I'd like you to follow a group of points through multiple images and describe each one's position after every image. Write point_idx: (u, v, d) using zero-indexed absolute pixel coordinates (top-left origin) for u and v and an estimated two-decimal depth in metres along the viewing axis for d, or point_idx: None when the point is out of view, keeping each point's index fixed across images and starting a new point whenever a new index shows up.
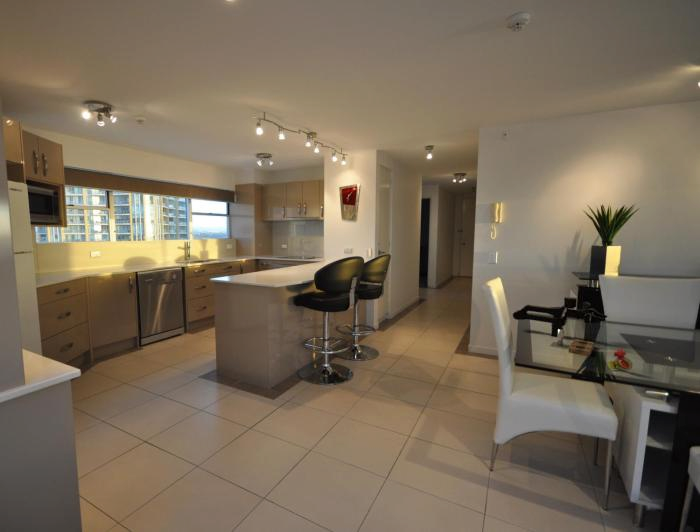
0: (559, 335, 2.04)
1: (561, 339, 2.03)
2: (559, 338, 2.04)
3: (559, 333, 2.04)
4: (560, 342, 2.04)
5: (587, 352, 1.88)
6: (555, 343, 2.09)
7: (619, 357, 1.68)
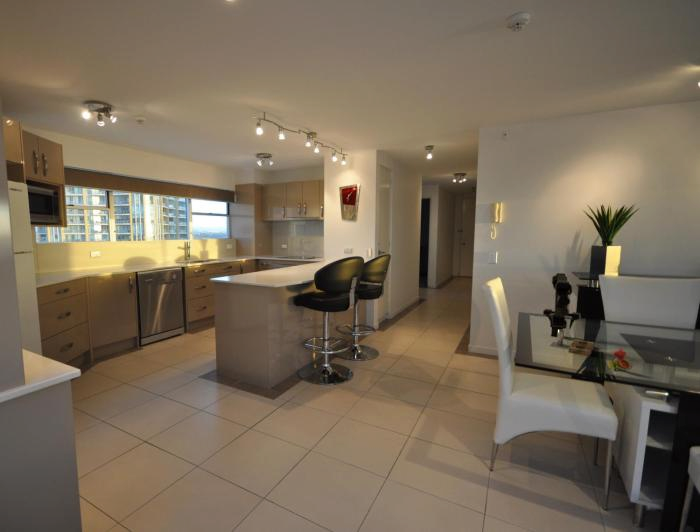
0: (559, 335, 2.04)
1: (561, 339, 2.03)
2: (559, 338, 2.04)
3: (559, 333, 2.04)
4: (560, 342, 2.04)
5: (587, 352, 1.88)
6: (555, 343, 2.09)
7: (619, 357, 1.68)
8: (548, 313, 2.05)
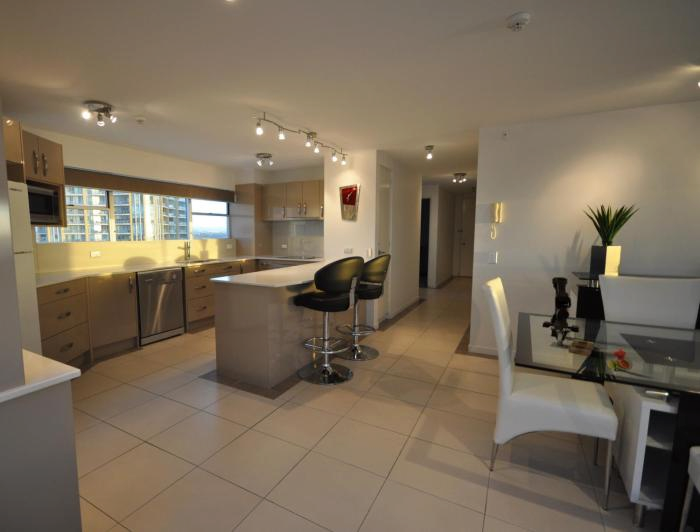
0: (559, 335, 2.04)
1: (561, 339, 2.03)
2: (559, 338, 2.04)
3: (559, 333, 2.04)
4: (560, 342, 2.04)
5: (587, 352, 1.88)
6: (555, 343, 2.09)
7: (619, 357, 1.68)
8: (547, 326, 2.06)
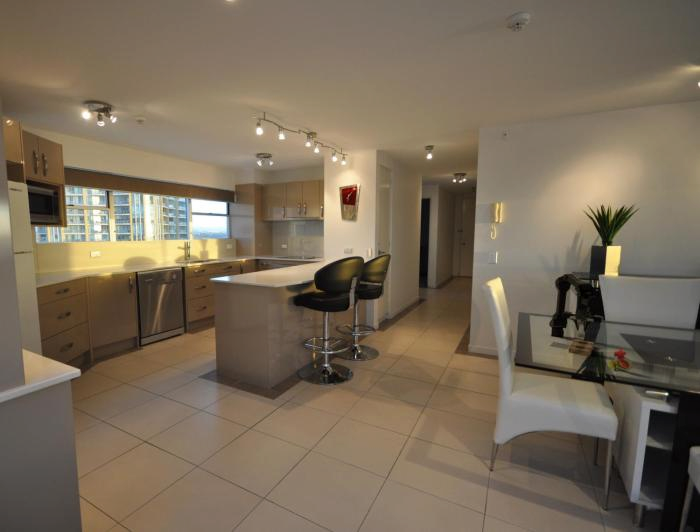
0: (580, 326, 1.92)
1: (583, 330, 1.91)
2: (580, 329, 1.92)
3: (580, 323, 1.92)
4: (581, 333, 1.92)
5: (587, 352, 1.88)
6: (555, 343, 2.09)
7: (619, 357, 1.68)
8: (568, 316, 1.94)
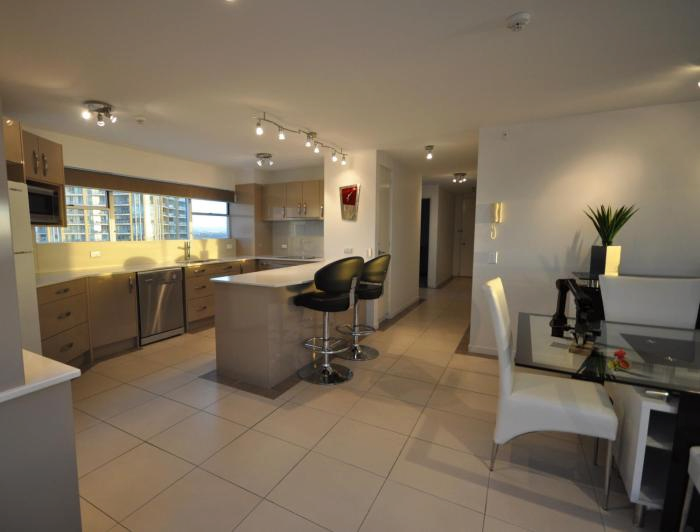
0: (579, 339, 1.93)
1: (582, 344, 1.92)
2: (579, 342, 1.93)
3: (579, 337, 1.93)
4: (581, 346, 1.93)
5: (587, 352, 1.88)
6: (555, 343, 2.09)
7: (619, 357, 1.68)
8: (567, 329, 1.95)
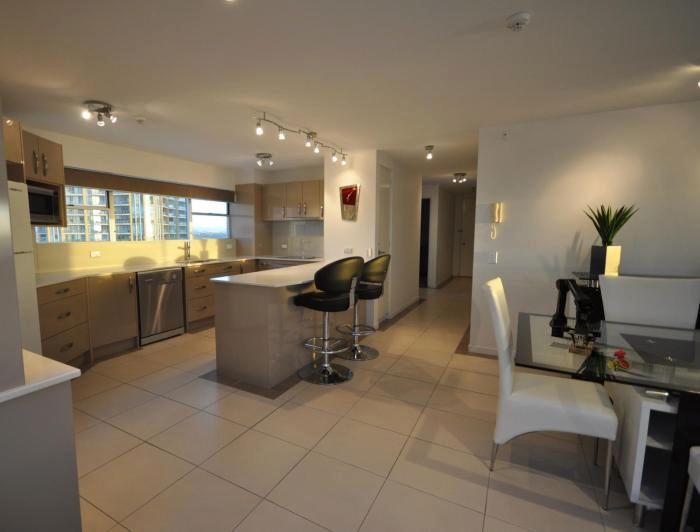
0: (579, 341, 1.93)
1: (582, 346, 1.92)
2: (579, 345, 1.93)
3: (579, 339, 1.93)
4: None
5: (587, 352, 1.88)
6: (555, 343, 2.09)
7: (619, 357, 1.68)
8: (567, 330, 1.95)
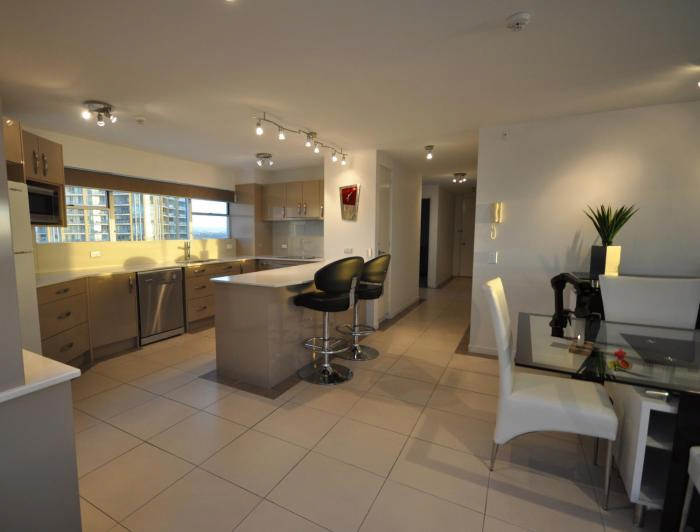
0: (579, 341, 1.93)
1: (582, 346, 1.92)
2: (579, 345, 1.93)
3: (579, 339, 1.93)
4: None
5: (587, 352, 1.88)
6: (555, 343, 2.09)
7: (619, 357, 1.68)
8: (567, 313, 2.00)
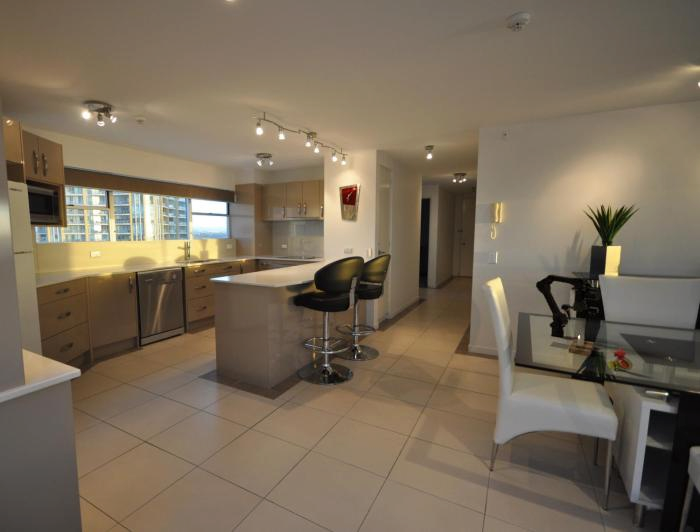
0: (579, 341, 1.93)
1: (582, 346, 1.92)
2: (579, 345, 1.93)
3: (579, 339, 1.93)
4: None
5: (587, 352, 1.88)
6: (555, 343, 2.09)
7: (619, 357, 1.68)
8: (566, 308, 2.11)
